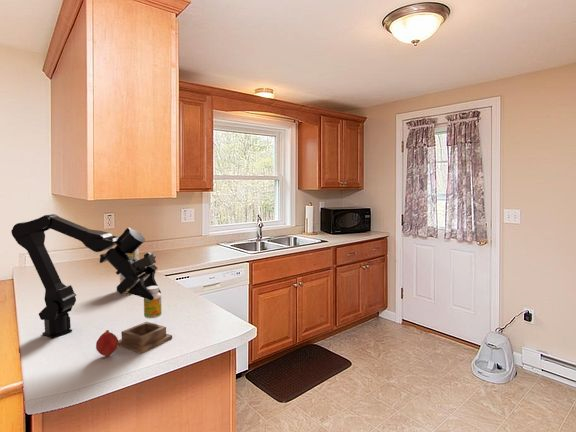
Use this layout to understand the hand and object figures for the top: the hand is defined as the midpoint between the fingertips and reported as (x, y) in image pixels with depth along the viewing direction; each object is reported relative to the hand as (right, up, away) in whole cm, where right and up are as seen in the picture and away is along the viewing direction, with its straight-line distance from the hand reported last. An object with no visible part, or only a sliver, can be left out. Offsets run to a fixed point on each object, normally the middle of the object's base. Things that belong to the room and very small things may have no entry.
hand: (156, 296), depth 117 cm
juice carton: (-32, -9, +51) cm, 61 cm away
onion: (-9, -15, -14) cm, 22 cm away
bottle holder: (-2, -14, -4) cm, 14 cm away
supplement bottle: (-1, -7, +1) cm, 7 cm away
